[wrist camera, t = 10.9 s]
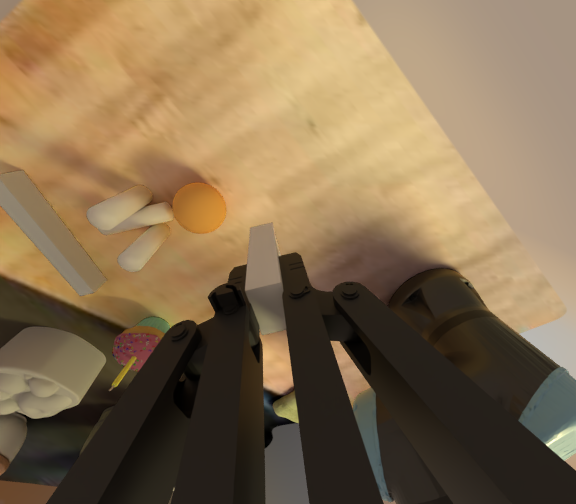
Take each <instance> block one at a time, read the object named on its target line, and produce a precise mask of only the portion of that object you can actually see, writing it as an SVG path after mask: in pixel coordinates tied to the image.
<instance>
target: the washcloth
mask: <svg viewBox="0 0 576 504" xmlns="http://www.w3.org/2000/svg"><path fill="white" fill-rule="evenodd" d="M273 408H274V411H275V413H276V414H277V415H278V416H281V417H286V418H288V419H290V420H291V421H294V422H297V423H299V420H298V413H297V405H296V398H295V390H294V391H293V392H292V393H290V394H289V395H287V396H286V395H285V396H283V397H282V398H280V399H278V400H276V401H275V402H274V403H273Z"/></svg>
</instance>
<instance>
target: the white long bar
mask: <svg viewBox="0 0 576 504" xmlns="http://www.w3.org/2000/svg"><path fill="white" fill-rule="evenodd" d="M0 206H1V207H2V208H3V209H4V210H5V211H6V212H7V214H8V215H9V216H10V217H11V218H12V219H13V220H14V222H15V223H16V224H17V225H18V226H19V227H20V228H21V230H22V231H23V232H24V233H25V234H26V235H27V236H28V237H29V239H30V240H31V241H32V242H33V243H34V244H35V245H36V247H37V248H38V249H39V250H40V251H41V252H42V253H43V254H44V256H45V257H46V258H47V259H48V260H49V261H50V262H51V264H52V265H53V266H54V267H55V268H56V269H57V270H58V272H59V273H60V274H61V275H62V276H63V277H64V278H65V279H66V281H67V282H68V283H69V284H70V285H71V286H72V287H73V289H74V290H75V291H76V292H77V293H78V294H79V295H80V296H83V295H87V294H91V293H95V292H96V291H97V290H98V289H99V288H100V287H101V286H102V285H103V284H104V283H105V282H106V281H107V279H106V278H105V277H104V275H103V274H102V273H101V271H100V270H99V269H98V267H97V266H96V265H95V264H94V262H93V261H92V260H91V258H90V257H89V256H88V254H87V253H86V252H85V250H84V249H83V248H82V246H81V245H80V244H79V243H78V241H77V240H76V239H75V237H74V236H73V235H72V233H71V232H70V231H69V229H68V228H67V227H66V226H65V224H64V223H63V222H62V220H61V219H60V218H59V216H58V215H57V214H56V212H55V211H54V210H53V209H52V207H51V206H50V205H49V203H48V202H47V201H46V199H45V198H44V197H43V195H42V194H41V193H40V192H39V190H38V189H37V188H36V186H35V185H34V184H33V182H32V181H31V180H30V178H29V177H28V176H27V175H26V173H25V172H24V171H23V170H21V171H15V172H10V173H4V174H0Z"/></svg>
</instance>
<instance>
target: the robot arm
mask: <svg viewBox="0 0 576 504" xmlns="http://www.w3.org/2000/svg"><path fill="white" fill-rule="evenodd" d="M228 280H229V281H228V283H226V284H223V285H220V286H219V287H217V288H215V289H214V290H213V291H212V292H211V293H210V294H209V296H208V299H209V301H210V303H211V305H212V307H213V309H214V311H215V316H214V317H213V318H211V319H209V320H208V321H205V322H203V323H201V324H199V325H197V324H196V323H195V322H194V321H191V320H186V321H182V322H180V323H177V324H175V325H174V326H173V327H171V328H170V329H169V330H168V331H167V332H166V333H165V335H164V336H163V337H162V339H161V340H160V342H159V343H158V345H157V346H156V347H155V349H154V350H153V352H152V353H151V355H150V356H149V357H148V359H147V360H146V362H145V363H144V365H143V366H142V367H141V369H140V370H139V372H138V373H137V375H136V376H135V377H134V379H133V380H132V382H131V383H130V385H129V386H128V387H127V389H126V390H125V392H124V393H123V395H122V396H121V397H120V399H119V400H118V402H117V403H116V405H115V406H114V407H113V409H112V410H111V412H110V413H109V415H108V416H107V417H106V419H105V420H104V422H103V423H102V425H101V426H100V427H99V429H98V430H97V432H96V433H95V435H94V436H93V437H92V439H91V440H90V442H89V443H88V445H87V446H86V447H85V449H84V450H83V452H82V453H81V455H80V456H79V457H78V459H77V460H76V462H75V463H74V465H73V466H72V467H71V469H70V470H69V472H68V473H67V475H66V476H65V477H64V479H63V480H62V482H61V483H60V485H59V486H58V487H57V489H56V490H55V492H54V493H53V495H52V496H51V497H50V499H49V500H48V502H47V503H46V504H168V503H169V500H170V497H171V495H172V492H173V490H174V493H173V496H172V501H171V504H265V460H264V459H265V455H264V401H263V349H262V342H261V339H260V337H259V329H260V331H261V334H262V335H266V334H270V333H274V332H278V331H283V330H287V337H288V345H289V352H290V360H291V367H292V375H293V382H294V390H295V398H296V405H297V413H298V420H299V428H300V435H301V442H302V451H303V458H304V465H305V473H306V480H307V488H308V496H309V503H310V504H384V503H383V500H385V501H389V502H392V501H394V500H395V502H396V504H576V471H575V470H574V469H573V468H572V467H571V466H570V465H568V464H567V463H566V462H565V461H564V460H566V459H567V458H569V457H571V456H572V455H574V454H575V453H576V380H575V379H574V378H573V377H572V376H570V375H569V373H568V371H567V370H566V369H565V368H563V367H560V366H559V365H558V364H556V363H555V362H554V361H553V360H551V359H550V358H549V357H547V356H546V355H545V354H543V353H542V352H541V351H540V350H539V349H537V348H536V347H535V346H533V345H532V344H531V343H530V342H528V341H527V340H526V339H525V338H523V337H522V336H521V335H519V334H518V333H517V332H516V331H514V330H513V329H512V328H511V327H509V326H508V325H507V324H505V323H504V322H503V321H502V320H500V319H499V318H498V317H496V316H495V315H494V314H493V313H492V312H490V311H489V310H488V308H487V307H486V305H485V304H484V302H483V301H482V299H481V297H480V296H479V294H478V293H477V292H476V290H475V289H474V287H473V285H472V284H471V283H470V282H469V281H468V280H467V279H466V278H465V277H463V276H462V275H460V274H459V273H458V272H456V271H454V270H451V269H444V268H440V269H432V270H428V271H425V272H423V273H420V274H418V275H416V276H414V277H412V278H411V279H409V280H408V281H407V282H405V283H404V284H403V285H402V286H401V287H400V288H399V289H398V290H397V291H396V292H395V294H394V295H393V297H392V299H391V301H390V303H389V307H387V306H386V305H385V304H384V303H383V302H382V301H381V300H379V299H378V298H377V297H376V296H375V295H374V294H373V293H371V292H370V291H369V290H368V289H367V288H366V287H365V286H363V285H361V284H360V283H356V282H344V283H341V284H339V285H337V286H336V287H335V288H334V290H333V292H324V291H319V290H316V289H314V288H313V287H312V286H311V284H310V282H309V279H308V276H307V273H306V270H305V267H304V264H303V261H302V258H301V256H300V255H299V254H297V253H296V252H295V253H291V254H287V255H282V256H281V254H280V250H279V246H278V242H277V238H276V234H275V231H274V227H273V223H268V224H264V225H259V226H255V227H251V228H250V237H249V248H248V260H247V265H243V266H238V267H234V269H233V270H232V271H231V272H230V274H229V279H228ZM330 341H340V343H341V345H342V346H343V348H344V349H345V351H346V352H347V353H348V355H349V356H350V358H351V359H352V360H353V362H354V363H355V365H356V366H357V368H358V369H359V370H360V372H361V373H362V375H363V376H364V378H365V379H366V380H367V382H368V383H369V385H370V386H371V388H369V389H367V390H365V391H363V392H362V393H360V394H358V395H357V397H356V398H355V401H354V404H353V409H352V406H351V403H350V400H349V397H348V394H347V391H346V388H345V385H344V382H343V379H342V376H341V372H340V369H339V366H338V363H337V360H336V357H335V354H334V351H333V348H332V345H331V342H330ZM183 373H184V374H183ZM182 374H183V376H182ZM181 376H182V378H181ZM180 378H181V379H180ZM174 487H175V488H174ZM382 499H383V500H382Z"/></svg>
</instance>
